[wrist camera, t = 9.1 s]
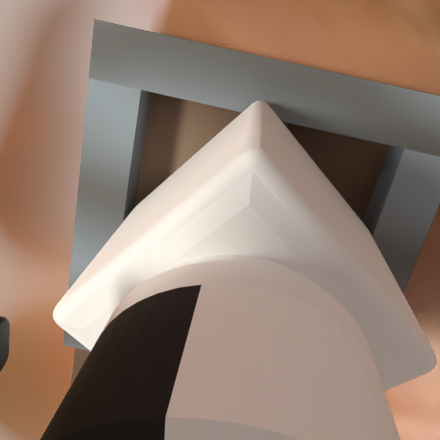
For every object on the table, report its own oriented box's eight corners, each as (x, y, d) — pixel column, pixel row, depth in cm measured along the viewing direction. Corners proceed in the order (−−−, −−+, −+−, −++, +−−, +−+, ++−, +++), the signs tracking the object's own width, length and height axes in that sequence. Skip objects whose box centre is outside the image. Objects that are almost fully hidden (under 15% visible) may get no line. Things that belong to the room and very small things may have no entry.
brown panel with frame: (310, 464, 21) (317, 502, 19) (72, 408, 21) (53, 440, 19) (448, 105, 15) (480, 105, 13) (115, 31, 15) (94, 19, 13)
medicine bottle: (239, 312, 18) (196, 732, 7) (132, 207, 16) (-154, 559, 5) (371, 231, 15) (633, 711, 4) (261, 94, 13) (232, 329, 2)
